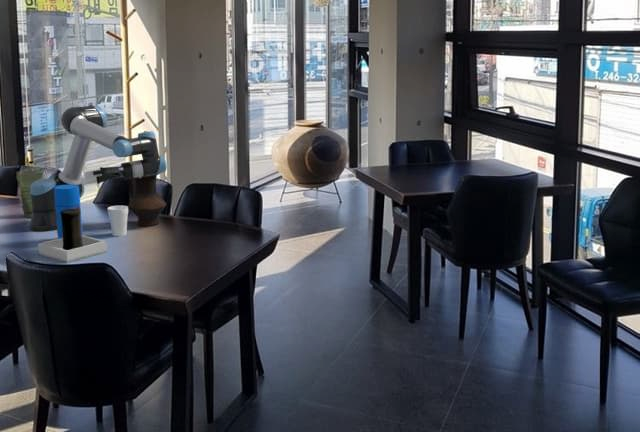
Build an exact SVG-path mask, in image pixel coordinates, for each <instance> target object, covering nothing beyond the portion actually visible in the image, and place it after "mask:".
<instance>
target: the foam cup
mask: <svg viewBox="0 0 640 432" xmlns="http://www.w3.org/2000/svg"><path fill="white" fill-rule="evenodd" d="M107 214H108V218H109V225H110V228H111V230H110V231H111V233H112V236H115V237H123V236H126V235H127V229H128V214H129V208H128V205H111V206H109V207H107Z"/></svg>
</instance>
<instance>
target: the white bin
mask: <svg viewBox="0 0 640 432" xmlns="http://www.w3.org/2000/svg"><path fill="white" fill-rule="evenodd" d="M81 236H82V244H83V246H82V247H78V248H75V249H71V250H64V249H63V248H62V246H63V238H60V239H58V238H57V239H51V240H48V241H44V242H39V243H37V247H38V255H39V254H40V255H39V256H41V255H43V256H42V257H45V256H46V257H45V258H48V257H50V258H49V259H52V258H53V260H55V259H56V261H59V262H62V261H63V263H67V264H69V262H70V263H73V262H76V260H77V261H79V260H80V261H81V260H84V259H87V258H91V257H95V256H99V255H103V254H105V253H108V247H107V246H108V245H107V240H103V239H99V238H95V237H91V236H86V235H83V234H82V235H81ZM72 261H73V262H72Z"/></svg>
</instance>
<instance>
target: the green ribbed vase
mask: <svg viewBox="0 0 640 432" xmlns="http://www.w3.org/2000/svg"><path fill="white" fill-rule="evenodd" d="M44 170H45V168H42V167H41V168H38V169H34V170H33V169H31V168H29V169H28V170H26V169H25V170H18V171H16V172H15V173H16V176H15V177H16V180H17V183H18V185H19V189H20V197H21V203H22V205H21V208H22V212H23V216H24V218H31V217H32V201H31V194H30V191H31V188H30V186H31V184H32V183H33V182H35V181H37V180H41V179H43V178H42V176H43V175H44Z"/></svg>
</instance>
